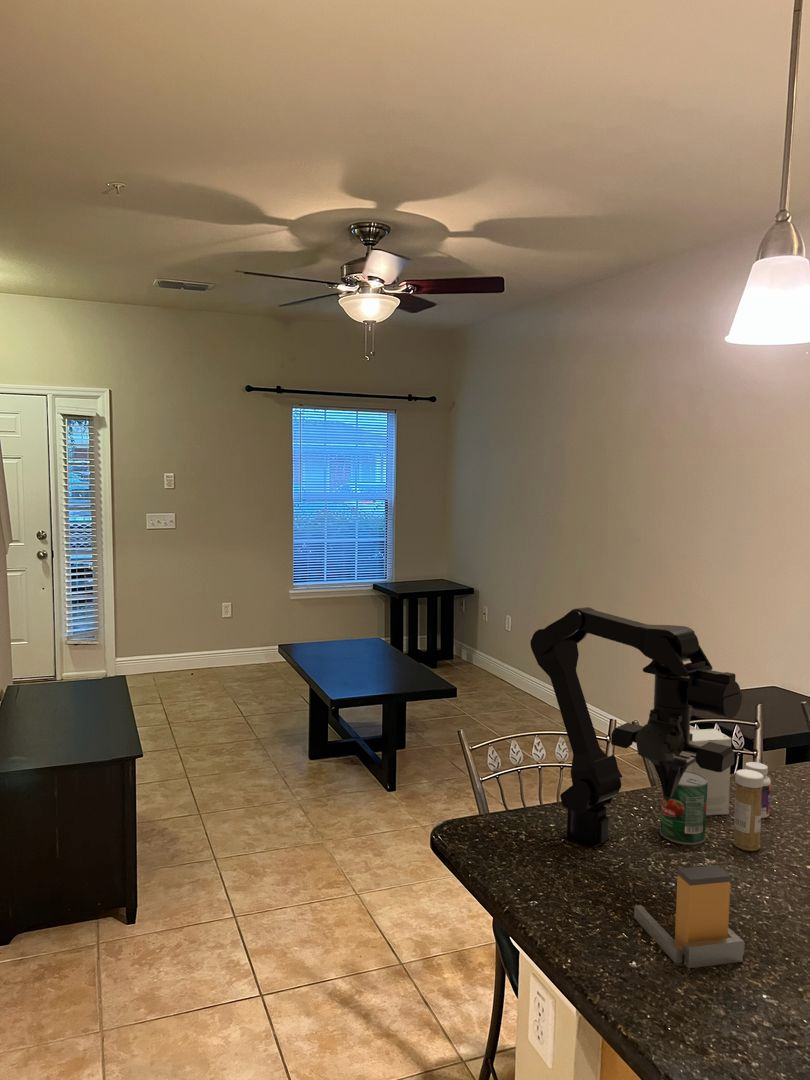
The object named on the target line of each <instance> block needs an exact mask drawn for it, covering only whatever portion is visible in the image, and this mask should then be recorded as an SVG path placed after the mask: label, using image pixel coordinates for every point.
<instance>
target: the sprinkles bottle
mask: <svg viewBox="0 0 810 1080" xmlns="http://www.w3.org/2000/svg"><path fill="white" fill-rule="evenodd" d="M734 781H735V785H736V786H735V798H734V813H733V814H734V819H733V822H734V823H733V826H734V829H733V839H732V844H733V845H734V846H735V847H736V848H738V849H740V850H743V851H748V852H756V851H758V850H760V848H761V830H762V829H761V827H762V826H761V825H762V824H761V823H762V818H761V797H762V796H761V795H762V786H763V782H764V777H763V775H762V774H761V773H759V772H757V771H753V770H746V769H745V768H744V769H737V770H736V771H735V780H734Z"/></svg>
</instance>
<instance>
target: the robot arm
mask: <svg viewBox="0 0 810 1080" xmlns="http://www.w3.org/2000/svg"><path fill="white" fill-rule="evenodd" d="M588 634H589V635H593V636H596V637H600V638H602V639H605V640H610V641H613V642H616V643H619V644H623V645H626V646H630V647H633V648H635V649H636V650H638V651H639V652H640V653H641V654H642V655H644V656H645V657H647V659H651V661H650V663H649V664H647V665H646V666H644V667H643V668H642V672H643V673H644V674H645V673H646V674H650V675H654V687H653V688H654V690H653V691H654V694H653V709H650V711H649V715H648V721H647V723H646V724H644V725H639V724H635V723H631V722H626V723H624V724H621V725H619V726H617V727H615V728H614V729H612V732H611V733H610V735H611V736H610V744H611V746H615V747H619V748H621V749H622V748H623V749H629V748H630V747H631V746H632V745H633V743H635V745H636V750H637V755H638V756H640V757H642V758H644V759H648V761H650V763H651V764H653V765H652V766H653V767H654V769H655V771H656V774H657V776H658V779H659V782H660V785H661V790H662V789H663V792H664V795H665V797H668V798H671V797H672V796H673V794H674V792H675V790H676V788H677V786H678V784H679V782H680V780H681V777H682V775H683V774H684V772H685V770H686V769H687V767H688V766H690V765H691V764H693V763H695V762H696V763H697V764H698V765H699V767H700V768H703V769H707V770H711V771H715V772H723V771H724V770H726V769H727V768H729V767H730V768H731V767H732V766H733V765H735V751H734V750H733V748H732V746H731V747H730V746H725V745H721V744H717V743H713V742H708V743H706V744H705V745H703V746H701V747H700V746H696V745H692V744H689V742H690V741H691V740H692V737H693V734H691V733H690V730H691V717H693V716H694V712H695V711H698V712H702V713H706V714H711V715H713V716H714V715H715V716H719V717H722V718H727V719H733V718H735V717H736V716H737V715H738V713H739V711H740V709H741V707H742V706H741V705H742V701H743V693H742V692H741V687H740V685H739V683H738V682H737V681H736V674H735V673H734V672H728V671H727V672H725V671H724V672H721V671H718V670H717V671H716V670H713V665H712V664H711V662H710V661H709V659H708V658H707V656H706V654H705V653H704V652H705V651H703V649H702V648H701V645H700V642H699V639H698V636H697V634H696V633H695V631H694V630H693V629H692V628H690V627H689V626H684V625H673V624H672V625H670V624H647V623H643V622H641V621H640V622H639V621H636V620H633V619H629V618H625V617H621V616H618V615H614V614H611V613H608V612H607V613H606V612H602V611H599V610H595V609H594V608H592V607H590V606H588V607H587V606H586V607H579V608H573V609H571V610H570V611H569V612H567V614H565V615H564V616H562V617H561V618H559V619H557V620H555V621H553V622H552V623H550V624H549V625H547V626H546V627H545V628H540V629H537V630H536V631H535V632H534V633H533V635H532V638H531V639H530V649H531V652H532V653H533V656H534V658H535V661H536V662H537V665H538V666H539V667H540V668H541V670H543V671H544V673H545V674H546V675H548V677H549V678H550V682H551V686H552V689H553V691H554V695H555V698H556V702H557V705H558V708H559V711H560V715H561V718H562V722H563V725H564V728H565V732H566V736H567V738H568V742H569V744H570V749H571V751H572V760H571V767H570V777H571V784H572V785H570V786H569V787H568V788H567V789H565V790H564V791H563V792H561V793H560V795H559V797H560V800H561V805H562V807H563V808H565V809H567V811H566V812H567V813H566V817H567V818H566V824H567V825H566V832H564V833H562V834H561V838H562V839H565V840H568V841H571V842H573V843H575V844H578V845H581V846H583V847H586V848H589V849H595V848H597V847H598V846H600V845H601V844H603V843H604V842H606V841H608V840H609V839H611V835H610V834H609V822H610V821H609V816H607V809H608V807H606V805H609V804H612V803H613V800H614V797H616V796H617V795H618V794H619V792H620V790H621V789H622V781H621V779H622V778H623V775H622V773H621V772H620V769H619V767H618V761H617V758H616V756H615V755H614V754H611V755H609V756H608V755H607V753H606V752H605V751H603V750H602V748H601V747H600V744H599V743H600V742H599V741H598V737H597V734H596V731H595V727H594V725H593V721H592V718H591V715H590V711H589V709H588V705H587V701H586V699H585V696H584V692H583V689H582V686H581V684H580V679H579V677H578V672H577V666H578V662H579V648H578V644H579V643H580V642H582V641H583V640H584V639H585V638H586V637H587V635H588ZM687 661H690V662H687ZM684 662H687V663H685V664H684ZM691 707H692V708H691ZM694 710H695V711H694Z"/></svg>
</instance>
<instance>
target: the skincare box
mask: <svg viewBox="0 0 810 1080" xmlns="http://www.w3.org/2000/svg"><path fill="white" fill-rule="evenodd" d="M690 733H691V734H693V737H692V740H691V741H690V742H689V744H692V745H696V746H700V747H701V746H703V745H705V744H706V743H708V742H713V743H717V744H721V745H725V746H730V747H731V748H732V741H733V738H731V737H730V736H728V735H726V734H725V733H722V732H721V731H720V730H718V729H717V728H706V729H703V728H702V729H690ZM686 771H692V772H695V773H698V774H701V775H703V776H705V777H706V778H707V779H708V784H707V809H706V816H718V815H729V811H730V789H731V788H730V784H731V783H730V781H731V766H730V767H729V768H727V769H726V770H724V771H723V772H715V771H711V770H707V769H703V768H700V767H699V765H698V764H697V763H696V762H695V763H693V764H691V765H690V766H688V767H687V769H686Z"/></svg>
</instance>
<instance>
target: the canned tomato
mask: <svg viewBox="0 0 810 1080" xmlns="http://www.w3.org/2000/svg"><path fill="white" fill-rule="evenodd" d="M707 784H708V779H707V778H706V777H705V776H703V775H701V774H698V773H695V772H692V771H686V770H685V772H684V774H683V775H682V777H681V780H680V782H679V784H678V786H677V788H676V790H675V792H674V794H673V796H672V797H671V798H668V797H665V795H664V792H663V789H662V788H661V801H660V802H661V805H660V806H661V809H660V812H661V813H660V829H659V832H660V835H661V836H662V837H663V838H664V839H666V840H667V839H668V840H667V841H670V842H672V843H676V844H680V845H687V846H688V845H689V846H695V845H701V844H702V843H704V842H705V841H706V825H707V822H706V821H707V815H706V809H707Z"/></svg>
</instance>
